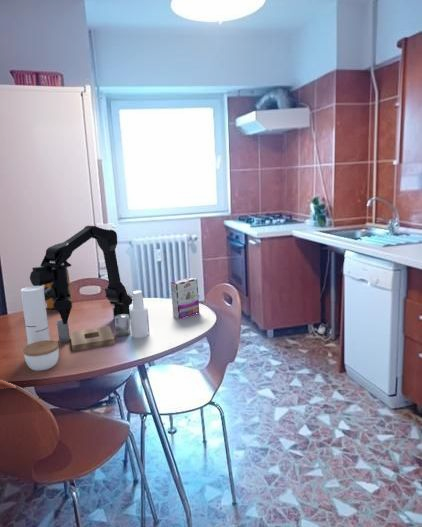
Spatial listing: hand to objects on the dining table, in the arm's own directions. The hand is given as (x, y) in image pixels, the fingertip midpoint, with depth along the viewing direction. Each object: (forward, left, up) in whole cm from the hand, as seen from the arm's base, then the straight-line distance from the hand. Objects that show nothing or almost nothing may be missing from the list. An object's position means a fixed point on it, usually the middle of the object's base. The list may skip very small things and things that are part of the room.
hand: (64, 320), depth 161 cm
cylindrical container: (+9, +12, -9) cm, 17 cm away
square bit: (+1, 0, -9) cm, 9 cm away
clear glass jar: (-21, +4, -9) cm, 23 cm away
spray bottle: (-27, +8, -9) cm, 29 cm away
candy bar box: (-50, -7, -9) cm, 51 cm away
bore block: (-9, +6, -9) cm, 14 cm away
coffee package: (+2, -54, -9) cm, 54 cm away
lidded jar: (+8, +22, -9) cm, 25 cm away
